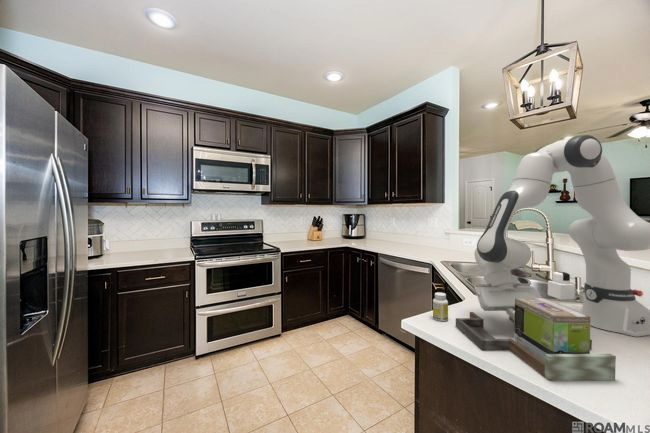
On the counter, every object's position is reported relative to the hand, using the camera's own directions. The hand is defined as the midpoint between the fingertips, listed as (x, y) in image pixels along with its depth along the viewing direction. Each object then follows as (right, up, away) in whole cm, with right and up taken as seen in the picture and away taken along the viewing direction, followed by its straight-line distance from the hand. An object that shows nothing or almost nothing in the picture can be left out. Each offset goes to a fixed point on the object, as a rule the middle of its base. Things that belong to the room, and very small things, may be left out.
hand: (521, 322), depth 86 cm
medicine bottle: (+49, -4, +41) cm, 64 cm away
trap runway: (0, -6, -3) cm, 6 cm away
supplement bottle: (-19, -6, +17) cm, 26 cm away
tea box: (+1, -6, -9) cm, 11 cm away
